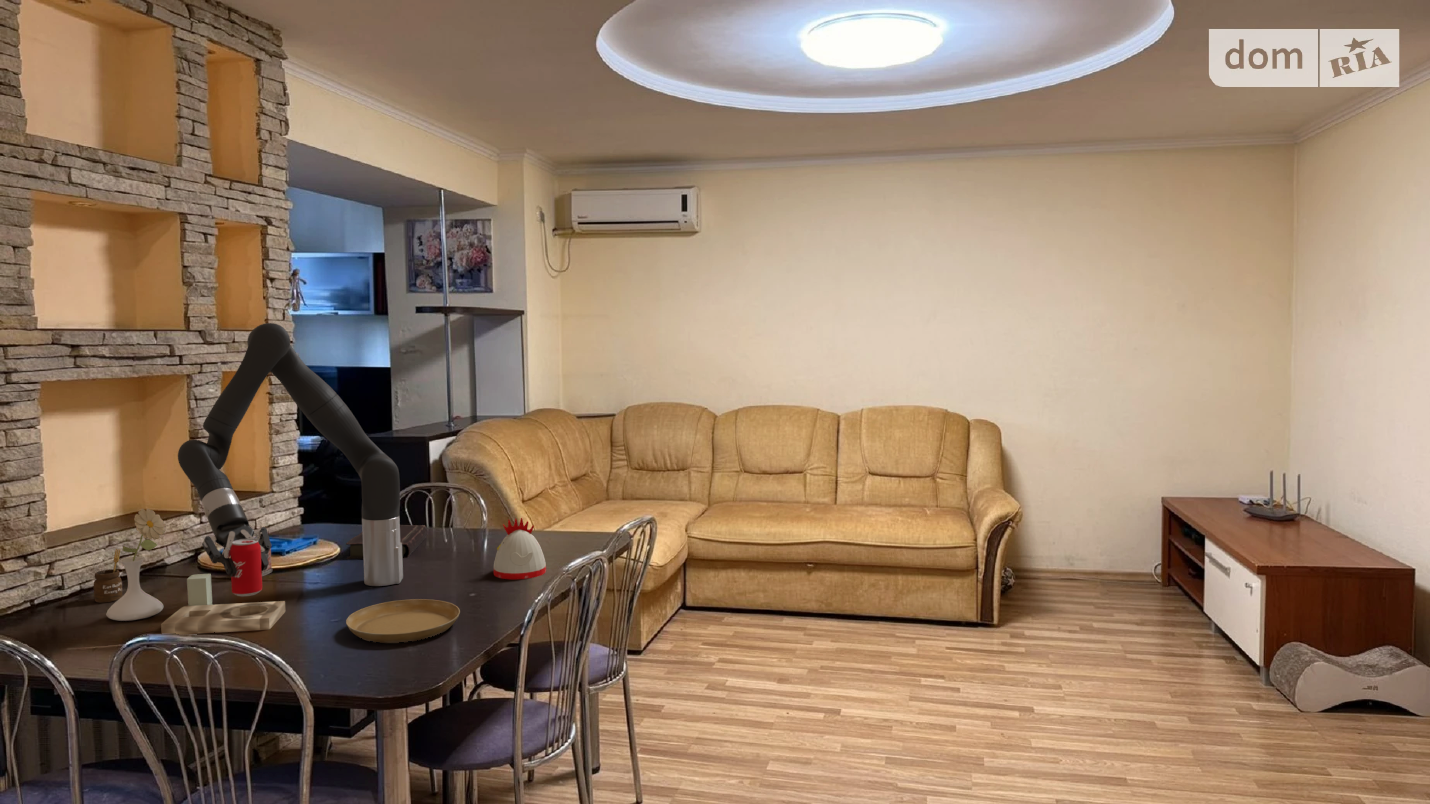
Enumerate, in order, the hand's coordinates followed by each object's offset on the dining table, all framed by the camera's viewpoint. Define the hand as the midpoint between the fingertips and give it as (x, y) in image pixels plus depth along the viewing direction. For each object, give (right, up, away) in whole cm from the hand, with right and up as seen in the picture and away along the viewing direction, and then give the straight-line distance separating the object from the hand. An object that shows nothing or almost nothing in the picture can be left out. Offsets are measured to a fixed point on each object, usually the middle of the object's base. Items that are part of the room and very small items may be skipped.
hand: (249, 571), depth 216 cm
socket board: (-6, -12, +1) cm, 14 cm away
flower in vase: (-29, -12, +8) cm, 33 cm away
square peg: (-16, -12, +10) cm, 22 cm away
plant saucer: (+35, -13, -1) cm, 37 cm away
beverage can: (-1, -5, +2) cm, 6 cm away
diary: (+6, -7, +74) cm, 74 cm away
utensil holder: (-45, -11, +21) cm, 51 cm away
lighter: (-18, -9, +44) cm, 49 cm away
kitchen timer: (+51, -8, +45) cm, 69 cm away
